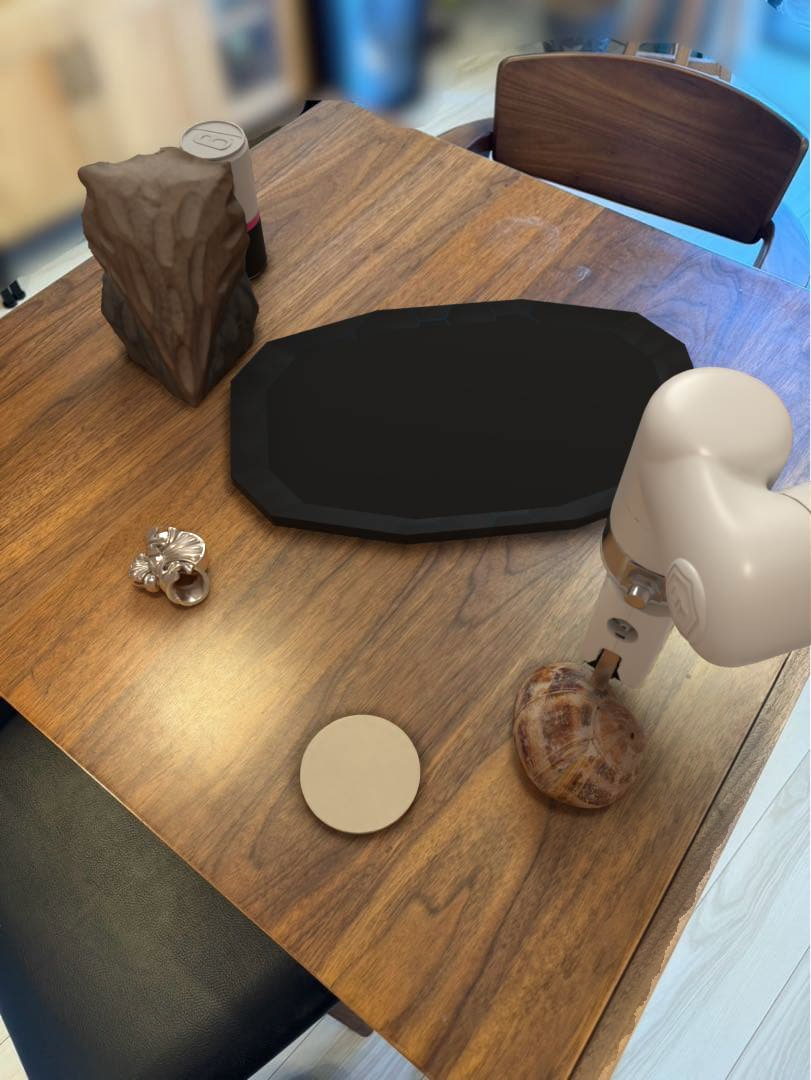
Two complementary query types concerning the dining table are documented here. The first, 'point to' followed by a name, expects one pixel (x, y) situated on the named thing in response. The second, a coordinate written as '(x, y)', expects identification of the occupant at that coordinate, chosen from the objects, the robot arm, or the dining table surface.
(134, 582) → the ornament
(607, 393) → the tray
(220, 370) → the brown rock
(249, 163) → the beverage can
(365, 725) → the coaster
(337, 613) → the dining table surface
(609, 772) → the seashell
